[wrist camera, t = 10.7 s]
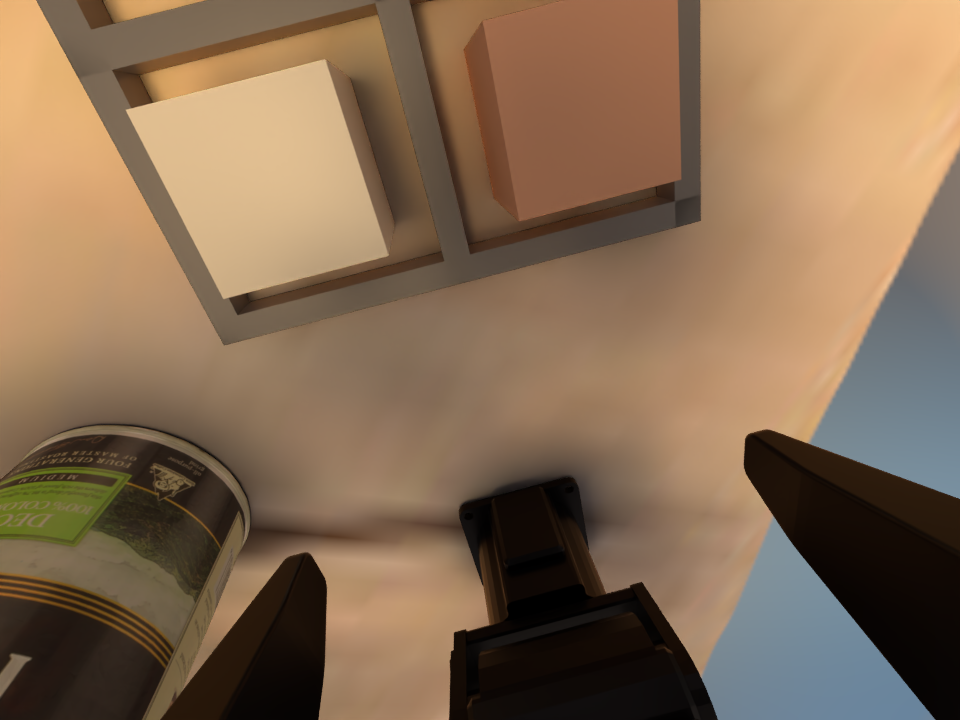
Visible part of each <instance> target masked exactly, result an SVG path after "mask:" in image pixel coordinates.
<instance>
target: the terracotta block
mask: <svg viewBox="0 0 960 720" xmlns="http://www.w3.org/2000/svg"><path fill="white" fill-rule="evenodd" d="M464 53H465V58H466V63H467V68H468V73H469V78H470V82H471V87H472V92H473V97H474V102H475V107H476V112H477V117H478V122H479V127H480V132H481V137H482V141H483V146H484V151H485V156H486V161H487V166H488V171H489V176H490V181H491V186H492V191H493V195H494V199H495V200H496V201H497V202H498V203H499V204H500V205H502V206H503V207H504V208H505V209H506V210H507V211H508V212H509V213H510V214H512V215H513V216H514V217H515V218H516V219H517V220H518V221H519V222H520V221H524V220H528V219H532V218H536V217H539V216H543V215H547V214H551V213H555V212H559V211H563V210H566V209H570V208H574V207H578V206H582V205H586V204H589V203H593V202H597V201H601V200H605V199H609V198H612V197H616V196H620V195H624V194H628V193H632V192H635V191H639V190H643V189H647V188H651V187H655V186H658V185H662V184H666V183H670V182H674V181H678V180H681V137H680V88H679V39H678V0H562V1H558V2H554V3H550V4H546V5H542V6H538V7H534V8H530V9H527V10H523V11H519V12H515V13H511V14H507V15H503V16H499V17H495V18H491V19H487V20H484V21H482V23H481V24H480V26H479V27H478V29H477V30H476V32H475V33H474V35H473V36H472V38H471V39H470V41H469V42H468V44H467V45H466V47H465V48H464Z"/></svg>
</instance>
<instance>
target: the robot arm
mask: <svg viewBox="0 0 960 720" xmlns="http://www.w3.org/2000/svg"><path fill="white" fill-rule="evenodd" d="M744 469H745V472H746V474H747V476H748V478H749V480H750V481H751V483H752V484H753V486H754V487H755V489H756V490H757V492H758V493H759V495H760V496H761V498H762V499H763V501H764V502H765V504H766V505H767V507H768V508H769V510H770V511H771V513H772V514H773V516H774V517H775V519H776V520H777V522H778V523H779V525H780V526H781V528H782V529H783V531H784V532H785V534H786V535H787V537H788V538H789V540H790V541H791V542H792V544H793V545H794V546H795V548H796V549H797V550H798V552H799V553H800V554H801V555H802V556H803V558H804V559H805V560H806V561H807V563H808V564H809V565H810V566H811V568H812V569H813V570H814V571H815V573H816V574H817V575H818V576H819V577H820V579H821V580H822V581H823V582H824V584H826V586H827V587H828V588H829V590H830V591H831V592H832V593H833V595H834V596H835V597H836V598H837V599H838V601H839V602H840V603H841V604H842V606H843V607H844V608H845V609H846V611H847V612H848V613H849V614H850V615H851V617H852V618H853V619H854V620H855V622H856V623H857V624H858V625H859V627H860V628H861V629H862V630H863V631H864V633H865V634H866V635H867V636H868V638H869V639H870V640H871V641H872V642H873V644H874V645H875V646H876V647H877V649H878V650H879V651H880V652H881V653H882V655H883V656H884V657H885V658H886V660H887V661H888V662H889V663H890V664H891V666H892V667H893V668H894V669H895V671H896V672H897V673H898V674H899V675H900V677H901V678H902V679H903V680H904V682H905V683H906V684H907V685H908V687H909V688H910V689H911V690H912V692H913V693H914V694H915V695H916V696H917V697H918V699H919V700H920V701H921V703H922V704H923V705H924V706H925V707H926V709H927V710H928V711H929V712H930V714H931V715H932V716H933V717H934V719H935V720H960V499H958V498H956V497H953V496H950V495H947V494H945V493H942V492H939V491H936V490H934V489H931V488H928V487H925V486H923V485H920V484H917V483H914V482H912V481H909V480H906V479H903V478H901V477H898V476H895V475H892V474H890V473H887V472H884V471H882V470H879V469H876V468H873V467H871V466H868V465H865V464H863V463H860V462H857V461H854V460H852V459H849V458H846V457H843V456H841V455H838V454H835V453H832V452H830V451H827V450H824V449H821V448H819V447H816V446H813V445H811V444H808V443H805V442H802V441H800V440H797V439H794V438H791V437H789V436H786V435H783V434H780V433H778V432H775V431H772V430H761V431H757V432H754V433H750V434H748V435H747V436H746V438H745V451H744ZM568 486H570V487H569V488H566V487H568ZM467 513H471V514H467ZM459 517H460V521H461V524H462V527H463V530H464V533H465V536H466V539H467V541H468V544H469V547H470V550H471V553H472V556H473V559H474V562H475V565H476V568H477V570H478V573H479V576H480V579H481V582H482V585H483V586H484V592H485V599H486V605H487V612H488V618H489V626H485V627H481V628H477V629H474V630H470V631H467V630H466V629H465V630H461V631H458V632H454V650H453V651H451V660H450V714H449V720H718V719H717V716H716V713H715V710H714V708H713V705H712V702H711V700H710V697H709V695H708V693H707V690H706V688H705V685H704V683H703V681H702V679H701V677H700V674H699V672H698V670H697V668H696V666H695V665H694V663H693V661H692V659H691V657H690V655H689V654H688V652H687V650H686V649H685V647H684V646H683V644H682V643H681V641H680V640H679V638H678V637H677V635H676V633H675V632H674V630H673V629H672V627H671V626H670V624H669V623H668V621H667V620H666V618H665V617H664V615H663V614H662V612H661V610H660V609H659V607H658V606H657V604H656V603H655V601H654V600H653V598H652V597H651V595H650V594H649V592H648V591H647V589H646V588H645V586H644V584H643V583H642V582H640V583H636V584H633V585H630V588H626V589H623V590H619V591H615V592H611V593H608V594H606V592H605V589H604V587H603V584H602V582H601V579H600V577H599V575H598V572H597V570H596V567H595V565H594V562H593V560H592V558H591V555H590V553H589V548H588V542H587V536H586V530H585V524H584V518H583V512H582V506H581V500H580V494H579V488H578V485H577V483H576V481H575V479H573V478H571V477H567V478H562V479H559V480H555V481H551V482H547V483H544V484H540V485H536V486H532V487H529V488H525V489H521V490H517V491H514V492H510V493H506V494H502V495H498V496H495V497H491V498H487V499H483V500H480V501H476V502H472V503H468V504H465V505H463V506H462V507H461V508H460V509H459ZM326 604H327V585H326V581H325V578H324V576H323V574H322V572H321V571H320V569H319V567H318V566H317V564H316V562H315V560H314V559H313V557H312V556H311V554H309V553H307V552H304V553H300V554H297V555H293V556H290V557H288V558H286V559H285V560H284V561H283V563H282V564H281V565H280V567H279V568H278V569H277V570H276V572H275V573H274V574H273V576H272V577H271V578H270V579H269V581H268V582H267V583H266V585H265V586H264V587H263V588H262V590H261V591H260V592H259V593H258V595H257V596H256V597H255V599H254V600H253V601H252V602H251V604H250V605H249V606H248V608H247V609H246V610H245V611H244V613H243V614H242V615H241V617H240V618H239V619H238V620H237V622H236V623H235V624H234V625H233V627H232V628H231V629H230V631H229V632H228V633H227V634H226V636H225V637H224V638H223V640H222V641H221V642H220V643H219V645H218V646H217V647H216V649H215V650H214V651H213V652H212V654H211V655H210V656H209V658H208V659H207V660H206V661H205V663H204V664H203V665H202V666H201V668H200V669H199V670H198V672H197V673H196V674H195V675H194V677H193V678H192V679H191V681H190V682H189V683H188V684H187V686H186V687H185V688H184V690H183V691H182V692H181V693H180V695H179V696H178V697H177V698H176V700H175V701H174V702H173V704H172V705H171V706H170V707H169V709H168V710H167V711H166V713H165V714H164V715H163V716H162V718H161V719H160V720H318V718H319V710H320V702H321V695H322V687H323V678H324V668H325V642H326Z"/></svg>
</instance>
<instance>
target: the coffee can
mask: <svg viewBox="0 0 960 720" xmlns="http://www.w3.org/2000/svg"><path fill="white" fill-rule="evenodd" d="M249 528H250V510H249V506H248V501H247V498H246V496H245V494H244V493H243V491H242V489H241V487H240V485H239V483H238V482H237V481H236V479H235V478H234V477H233V476H232V474H231V473H230V472H229V471H228V470H227V469H226V468H225V467H224V466H223V465H222V464H221V463H219V462H218V461H217V460H216V459H214V458H213V457H212V456H210V455H209V454H207V453H206V452H204V451H203V450H201V449H199V448H198V447H196V446H194V445H193V444H191V443H189V442H187V441H185V440H181V439H179V438H176V437H174V436H171V435H168V434H165V433H162V432H159V431H154V430H150V429H145V428H140V427H133V426H123V425H97V426H88V427H83V428H79V429H74V430H70V431H66V432H63V433H60V434H58V435H56V436H53V437H51V438H49V439H47V440H46V441H44V442H42V443H41V444H39V445H37V446H36V447H35V448H34V449H32V450H31V451H30V452H29V453H28V454H27V455H26V456H25V457H24V458H23V459H22V460H21V462H20V463H19V464H18V465H17V466H16V467H15V468H14V469H12V470H11V471H10V472H9V473H8V474H6V475H5V476H4V477H3V478H2V479H1V480H0V720H160V719H161V718H162V716H163V715H164V714H165V713H166V711H167V710H168V709H169V707H170V706H171V705H172V704H173V702H174V701H175V700H176V698H177V697H178V696H179V695H180V693H181V691H182V689H183V687H184V684H185V682H186V679H187V677H188V674H189V672H190V669H191V667H192V665H193V662H194V660H195V658H196V655H197V653H198V651H199V648H200V646H201V644H202V641H203V639H204V636H205V634H206V631H207V629H208V627H209V624H210V622H211V620H212V617H213V615H214V613H215V610H216V608H217V605H218V603H219V600H220V598H221V595H222V593H223V590H224V588H225V585H226V583H227V581H228V578H229V576H230V573H231V571H232V568H233V566H234V563H235V561H236V559H237V556H238V554H239V552H240V550H241V549H242V547H243V545H244V543H245V541H246V539H247V537H248V533H249Z"/></svg>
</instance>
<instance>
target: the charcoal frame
mask: <svg viewBox="0 0 960 720" xmlns="http://www.w3.org/2000/svg"><path fill="white" fill-rule="evenodd" d="M36 1H37V3H38V5H39V6H40V8H41V10H42V12H43V14H44V16H45V17H46V19H47V21H48V23H49V25H50V27H51V28H52V30H53V32H54V34H55V36H56V38H57V39H58V41H59V43H60V45H61V47H62V49H63V51H64V52H65V54H66V56H67V58H68V60H69V62H70V63H71V65H72V67H73V69H74V71H75V73H76V74H77V76H78V78H79V80H80V82H81V84H82V85H83V87H84V89H85V91H86V93H87V95H88V96H89V98H90V100H91V102H92V104H93V106H94V107H95V109H96V111H97V113H98V115H99V117H100V119H101V120H102V122H103V124H104V126H105V128H106V130H107V131H108V133H109V135H110V137H111V139H112V141H113V142H114V144H115V146H116V148H117V150H118V152H119V153H120V155H121V157H122V159H123V161H124V163H125V164H126V166H127V168H128V170H129V172H130V174H131V175H132V177H133V179H134V181H135V183H136V185H137V186H138V188H139V190H140V192H141V194H142V196H143V198H144V199H145V201H146V203H147V205H148V207H149V209H150V210H151V212H152V214H153V216H154V218H155V220H156V221H157V223H158V225H159V227H160V229H161V231H162V232H163V234H164V236H165V238H166V240H167V242H168V243H169V245H170V247H171V249H172V251H173V253H174V254H175V256H176V258H177V260H178V262H179V264H180V265H181V267H182V269H183V271H184V273H185V275H186V277H187V278H188V280H189V282H190V284H191V286H192V288H193V289H194V291H195V293H196V295H197V297H198V299H199V300H200V302H201V304H202V306H203V308H204V310H205V311H206V313H207V315H208V317H209V319H210V321H211V322H212V324H213V326H214V328H215V330H216V332H217V333H218V335H219V337H220V339H221V341H222V343H223V344H224V345H228V344H231V343H235V342H239V341H243V340H247V339H251V338H254V337H258V336H262V335H266V334H270V333H274V332H277V331H281V330H285V329H289V328H293V327H297V326H300V325H304V324H308V323H312V322H316V321H319V320H323V319H327V318H331V317H335V316H339V315H342V314H346V313H350V312H354V311H358V310H362V309H365V308H369V307H373V306H377V305H381V304H385V303H388V302H392V301H396V300H400V299H404V298H408V297H411V296H415V295H419V294H423V293H427V292H430V291H434V290H438V289H442V288H446V287H450V286H453V285H457V284H461V283H465V282H469V281H473V280H476V279H480V278H484V277H488V276H492V275H496V274H499V273H503V272H507V271H511V270H515V269H519V268H522V267H526V266H530V265H534V264H538V263H541V262H545V261H549V260H553V259H557V258H561V257H564V256H568V255H572V254H576V253H580V252H584V251H587V250H591V249H595V248H599V247H603V246H607V245H610V244H614V243H618V242H622V241H626V240H630V239H633V238H637V237H641V236H645V235H649V234H652V233H656V232H660V231H664V230H668V229H672V228H675V227H679V226H683V225H687V224H691V223H695V222H698V221H701V181H700V0H678V39H679V88H680V137H681V180H678V181H674V182H670V183H666V184H662V185H658V186H656V192H657V196H654V197H651V198H647V199H643V200H639V201H635V202H631V203H628V204H624V205H620V206H616V207H612V208H608V209H605V210H601V211H597V212H593V213H589V214H585V215H582V216H578V217H574V218H570V219H566V220H562V221H558V222H555V223H551V224H547V225H543V226H539V227H535V228H532V229H528V230H524V231H520V232H516V233H512V234H509V235H505V236H501V237H497V238H493V239H489V240H486V241H482V242H478V243H474V244H470V245H468V243H467V239H466V235H465V231H464V227H463V223H462V218H461V214H460V210H459V206H458V202H457V198H456V193H455V189H454V185H453V181H452V177H451V173H450V168H449V164H448V160H447V156H446V152H445V147H444V143H443V139H442V135H441V131H440V127H439V122H438V118H437V114H436V110H435V106H434V102H433V97H432V93H431V89H430V85H429V81H428V76H427V72H426V68H425V64H424V60H423V56H422V51H421V47H420V43H419V39H418V35H417V31H416V26H415V22H414V18H413V14H412V10H411V5H415V4H419V3H423V2H427V1H431V0H206V1H202V2H198V3H194V4H190V5H186V6H182V7H178V8H175V9H171V10H167V11H163V12H159V13H155V14H151V15H147V16H143V17H139V18H135V19H131V20H127V21H123V22H119V23H115V24H113V22H112V20H111V18H110V16H109V14H108V12H107V10H106V8H105V6H104V4H103V2H102V0H36ZM376 14H378V15H379V19H380V23H381V27H382V30H383V34H384V38H385V41H386V45H387V49H388V53H389V56H390V60H391V64H392V68H393V71H394V75H395V79H396V82H397V86H398V90H399V94H400V97H401V101H402V105H403V109H404V112H405V116H406V120H407V124H408V127H409V131H410V135H411V138H412V142H413V146H414V150H415V153H416V157H417V161H418V165H419V168H420V172H421V176H422V180H423V183H424V187H425V191H426V194H427V198H428V202H429V206H430V209H431V213H432V217H433V221H434V224H435V228H436V232H437V236H438V239H439V243H440V247H441V250H442V252H439V253H436V254H432V255H428V256H424V257H420V258H416V259H413V260H409V261H405V262H401V263H397V264H393V265H390V266H386V267H382V268H378V269H374V270H370V271H366V272H363V273H359V274H355V275H351V276H347V277H343V278H340V279H336V280H332V281H328V282H324V283H320V284H317V285H313V286H309V287H305V288H301V289H297V290H293V291H290V292H286V293H282V294H278V295H274V296H270V297H267V298H263V299H259V300H255V301H251V302H250V301H249V299H248V297H247V295H246V293H249V292H252V291H256V290H260V289H264V288H268V287H272V286H275V285H279V284H283V283H287V282H291V281H295V280H299V279H302V278H306V277H310V276H314V275H318V274H322V273H325V272H329V271H333V270H337V269H341V268H345V267H349V266H352V265H356V264H360V263H364V262H368V261H372V260H375V259H379V258H383V257H387V256H389V253H390V248H391V242H392V237H393V232H394V227H395V223H394V220H393V216H392V213H391V210H390V207H389V203H388V200H387V197H386V194H385V190H384V187H383V184H382V181H381V177H380V174H379V171H378V168H377V164H376V161H375V158H374V155H373V151H372V148H371V145H370V141H369V138H368V135H367V132H366V128H365V125H364V122H363V119H362V115H361V112H360V109H359V106H358V102H357V99H356V96H355V93H354V89H353V86H352V83H351V80H350V78H349V77H348V76H347V75H346V74H344V73H343V72H342V71H340V70H339V69H338V68H336V67H335V66H334V65H332V64H331V63H330V62H328V61H327V60H326V59H323V60H319V61H315V62H311V63H307V64H304V65H300V66H296V67H292V68H288V69H284V70H280V71H276V72H272V73H268V74H264V75H260V76H257V77H253V78H249V79H245V80H241V81H237V82H233V83H229V84H225V85H221V86H217V87H213V88H210V89H206V90H202V91H198V92H194V93H190V94H186V95H182V96H178V97H174V98H170V99H166V100H163V101H159V102H155V103H152V101H151V99H150V97H149V95H148V93H147V91H146V89H145V87H144V85H143V83H142V81H141V79H140V77H139V75H140V74H144V73H148V72H152V71H156V70H160V69H164V68H168V67H171V66H175V65H179V64H183V63H187V62H191V61H195V60H199V59H203V58H207V57H211V56H215V55H219V54H223V53H226V52H230V51H234V50H238V49H242V48H246V47H250V46H254V45H258V44H262V43H266V42H270V41H274V40H278V39H281V38H285V37H289V36H293V35H297V34H301V33H305V32H309V31H313V30H317V29H321V28H325V27H329V26H333V25H336V24H340V23H344V22H348V21H352V20H356V19H360V18H364V17H368V16H372V15H376Z"/></svg>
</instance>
